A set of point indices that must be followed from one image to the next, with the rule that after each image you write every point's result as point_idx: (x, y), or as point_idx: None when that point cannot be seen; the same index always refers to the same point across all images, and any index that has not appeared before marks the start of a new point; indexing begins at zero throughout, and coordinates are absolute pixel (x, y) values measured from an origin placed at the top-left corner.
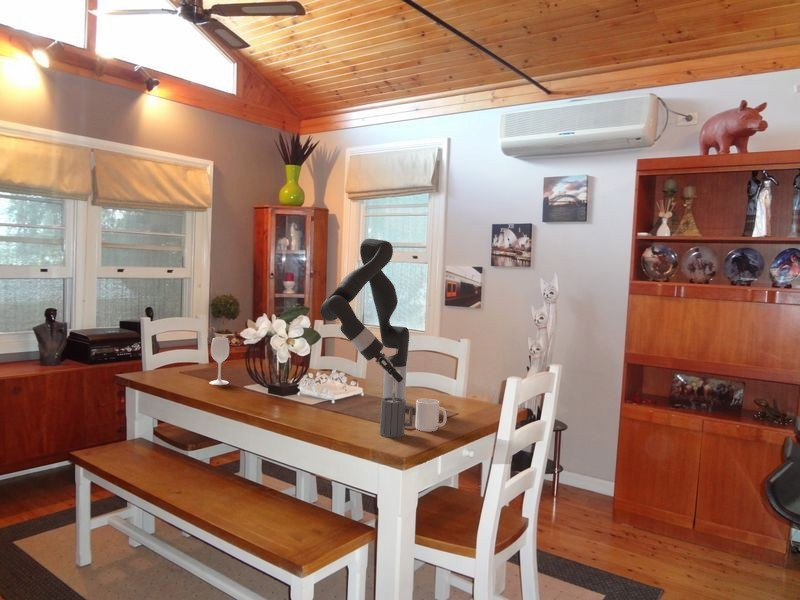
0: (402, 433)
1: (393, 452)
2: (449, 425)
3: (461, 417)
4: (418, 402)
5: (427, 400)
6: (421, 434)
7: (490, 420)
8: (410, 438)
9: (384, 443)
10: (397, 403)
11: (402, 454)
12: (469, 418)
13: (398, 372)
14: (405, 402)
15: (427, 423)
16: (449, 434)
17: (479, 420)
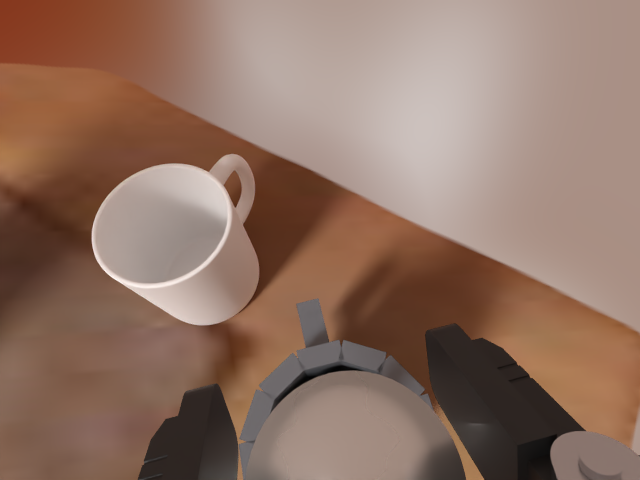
0: None
1: (609, 393)
2: None
3: (29, 156)
4: (197, 273)
5: (102, 231)
6: (303, 293)
7: (75, 73)
8: (377, 335)
9: None
10: (428, 399)
11: (614, 351)
12: (46, 131)
13: (416, 398)
14: (347, 342)
15: (254, 259)
16: (278, 191)
17: (75, 102)
